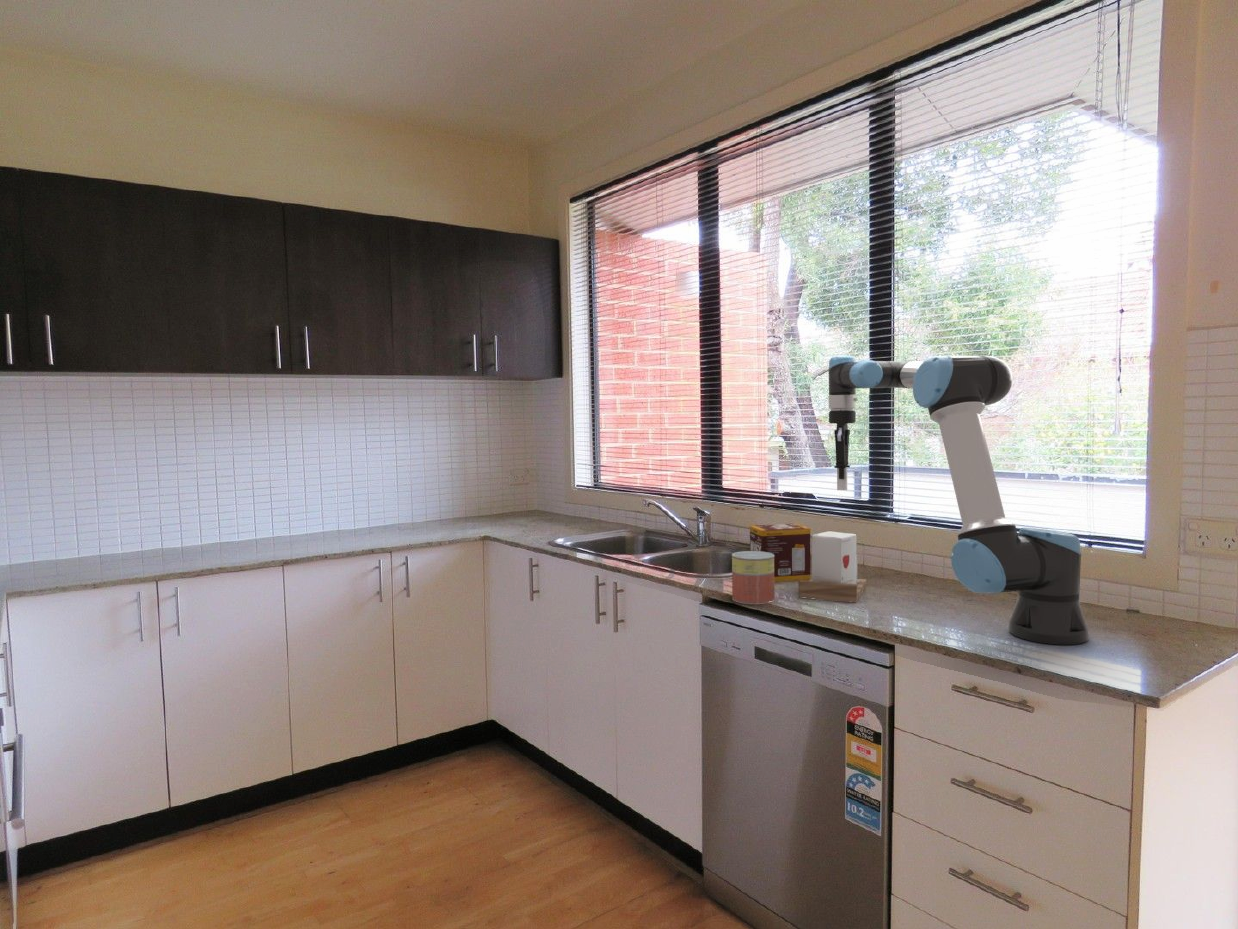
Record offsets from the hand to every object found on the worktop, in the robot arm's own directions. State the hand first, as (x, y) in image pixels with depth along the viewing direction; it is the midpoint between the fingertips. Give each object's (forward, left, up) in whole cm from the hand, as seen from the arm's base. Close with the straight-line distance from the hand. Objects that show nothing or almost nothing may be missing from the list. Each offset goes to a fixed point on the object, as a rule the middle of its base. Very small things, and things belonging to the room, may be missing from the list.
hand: (842, 489), depth 224 cm
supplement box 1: (-5, +17, -27) cm, 32 cm away
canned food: (-33, +18, -27) cm, 46 cm away
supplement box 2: (-21, -1, -25) cm, 32 cm away
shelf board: (-17, 0, -26) cm, 31 cm away
